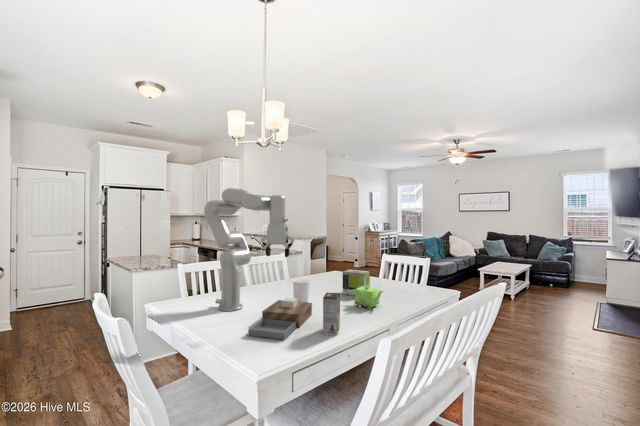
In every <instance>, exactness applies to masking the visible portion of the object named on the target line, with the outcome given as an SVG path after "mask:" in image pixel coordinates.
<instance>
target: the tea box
mask: <svg viewBox="0 0 640 426" xmlns="http://www.w3.org/2000/svg"><path fill="white" fill-rule="evenodd" d="M370 275H371V274H370V271H369V270H368V271H367V270H358V269H346V270H342V295H347V294H348V296H354V294H353V293H352V292H351V291H352V290H353V289H354V290H355V289H357V288H359V287H362V286H363V287H365V286H369V287H370V288H371V286H370V285H371V276H370Z"/></svg>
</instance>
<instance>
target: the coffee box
mask: <svg viewBox="0 0 640 426" xmlns="http://www.w3.org/2000/svg"><path fill="white" fill-rule="evenodd" d="M322 298H323V299H322V301H323V302H322V335H325V336H327V335H328V336H336V335H337V336H338V334H339V331H340V328H341V326H340V325H341V322H340V321H341V293H340V292H326V293H325V294H324V295H323V297H322Z"/></svg>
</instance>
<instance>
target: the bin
mask: <svg viewBox="0 0 640 426" xmlns="http://www.w3.org/2000/svg"><path fill="white" fill-rule="evenodd" d="M295 330H297V328H296V322H290V321H280V320H271V319H262V318H261V319H260V320H259V321H258V322H256V323H255V324H253V325H252V326H250V327H249V328H248V333H247V334H248V336H247V337H251V338H259V339H269V340H274V341H275V340H276V341H285V340H287V338H289V336H290V335H291V334H293V332H294V331H295Z"/></svg>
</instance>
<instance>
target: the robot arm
mask: <svg viewBox="0 0 640 426" xmlns="http://www.w3.org/2000/svg"><path fill="white" fill-rule="evenodd" d="M221 198H222V200H221V199H220V200H219V199H216V200H215V199H213V200H209V201H208V202H206V203H205V205H204V209H203V210H204V211H203V214H204V218H205V220H206V223H207V225H209V228H210V230H211V233H212V235H213V237H214V240H215V243H216V245H217V247H218V248H219V249H221V250H224V251H222V252H221V254H220V255H219V263H220V264H219V265H220V271H221V272H220V273H221V295H220V296H221V297H220V298H216V299H215V302H214V303H215V304H219V305H218V306H217V307H218V309H217V310H219V311H221V312H235V311H238V310H241V309H242V308H243V307H244V306H243V304H242V303H240V301H241V300H240V299H241V297H240V293H241V290H240V288H241V287H240V286H241V274H240V271H239V269H238V267H239V266H240V267H241V266H246V265H248V264H250V261H251V258H252V256H251V255H252V254H251V251H250V249H249V246H248V243H247V241H246V239H245V237H244V235H243V234H242V233H241V232H240V231H237V230H230V229H229V228H228V225H227V223H226V222H225V220H224V219H223V218H222V217H220V216H233V215H235V214H236V213H237V212H238V211H239V210H240V209H241V208H243V209H246V210H251V211H265V212H266V211H267V212H269V223H268V224H267V229H266V235H265V236H264V237H261V238H260V241H261V243H262V245H263V246H264V248H265V255H266V257H270V256H271V253H272V251H271V250H272V249H271V246H272V245H283V246H284V247H285V248H284V257H285V258H288V257H290V248H291V247H292V246H293V245H294V244H295V243H294V242H295V241H296V240H295V238H293V237H291V236H290V235H289V226H288V224H287V223H286V222H288V221H289V219H288V218H286V197H285V196H284V195H280V194H277V195H275V194H274V195H264V194H253V193H250V191H248V190H245V189H242V188H232V187H230V188H226V189H224V190H222V192H221Z"/></svg>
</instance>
